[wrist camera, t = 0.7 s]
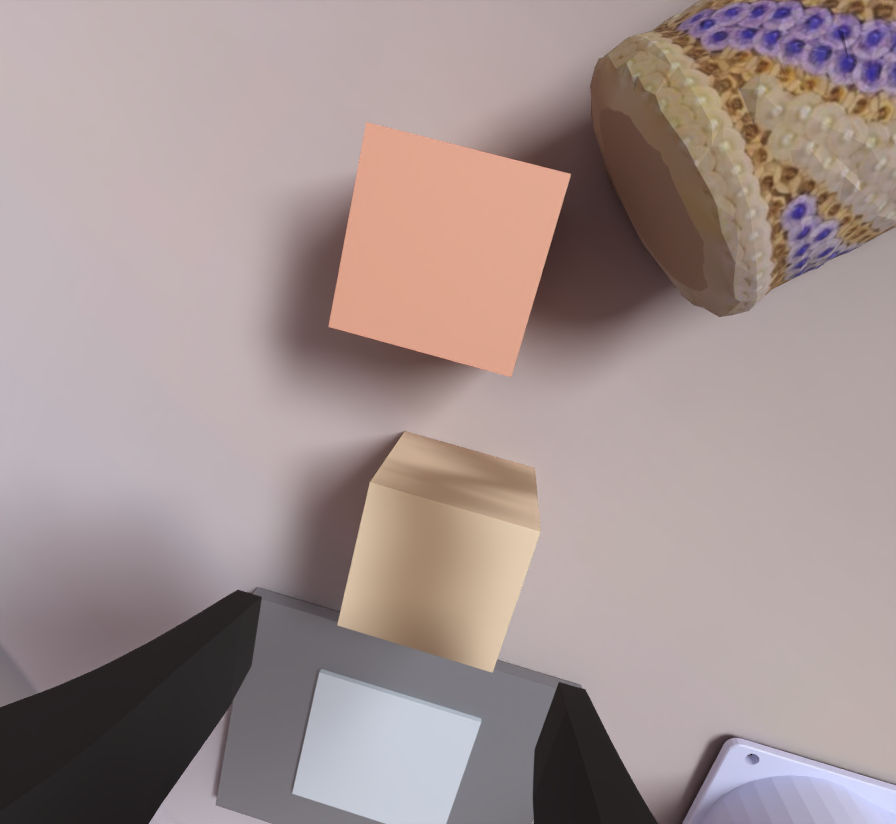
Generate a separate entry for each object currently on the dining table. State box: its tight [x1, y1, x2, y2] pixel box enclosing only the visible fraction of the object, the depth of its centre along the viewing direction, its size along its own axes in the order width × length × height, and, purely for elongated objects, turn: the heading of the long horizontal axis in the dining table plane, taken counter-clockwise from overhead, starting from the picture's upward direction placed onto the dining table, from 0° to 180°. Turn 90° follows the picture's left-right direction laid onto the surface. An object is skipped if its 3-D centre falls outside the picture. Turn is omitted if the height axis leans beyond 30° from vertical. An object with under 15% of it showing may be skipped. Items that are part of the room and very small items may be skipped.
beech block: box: [337, 431, 541, 673], centre depth 18 cm, size 5×5×5 cm
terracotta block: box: [328, 122, 571, 377], centre depth 16 cm, size 5×5×5 cm
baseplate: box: [216, 588, 581, 824], centre depth 23 cm, size 14×12×1 cm
